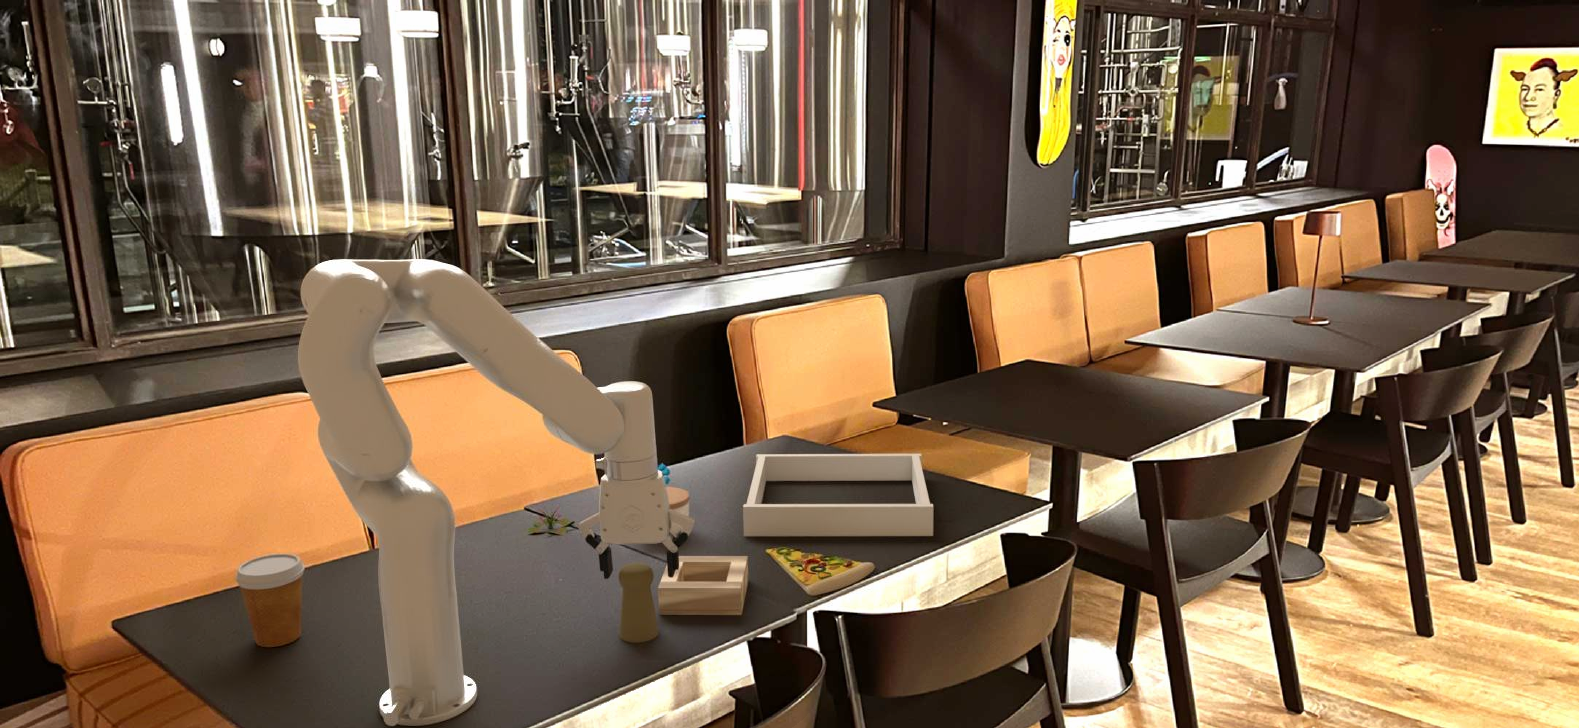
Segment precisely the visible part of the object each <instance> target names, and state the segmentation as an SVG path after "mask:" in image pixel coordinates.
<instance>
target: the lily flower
mask: <svg viewBox="0 0 1579 728" xmlns="http://www.w3.org/2000/svg"><path fill="white" fill-rule="evenodd" d="M553 507H554V506H553V505H552V506H551V508H553ZM543 508H544V510H545V511H543V510H541V509H538V512H541V513H542V514H543V515H544V516H545V518H544V516H541V515H539V520H540V521H541V522H538V521H534V522H533V524H534V525H535V526H536V527H535V526H534V527H530V528H528V529H526V532H525V533H524V534H526V535H528V534H530V535H531V534H533V533H551V535H548V536H547V537H545V539H546V538H549V537H551V536H552V533H553V534H556V535H559V536H563V535H567V532H568V529H567V527H566V526H568V525H570V524H571V523H572V522H573V520H572V519H570V518H563V519H560V518H561V517H562V514H559V513H557V514H556V515H555V513H556V512H557V511H558V509H559V508H560V506H558V507H557V508H556V509H555V510H554V511H552V509H551V511H550V512H551V513H550V516H549V513H548V511H547V510H546V507H545V506H543ZM554 516H555V517H554ZM556 524H558V525H561V527H560V528H559V529H558V530H554V531H549V530H548V531H546V530H543V531H542V530H540V527H541V526H543V525H545V526H546V527H547V528H548V529H552V528H554V526H555V525H556ZM572 526H573V527H577V525H576V524H572ZM572 530H574V529H573V528H571V531H572ZM531 532H532V533H531ZM562 534H563V535H562ZM536 537H537V538H538V539H540V535H538V534H536Z"/></svg>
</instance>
